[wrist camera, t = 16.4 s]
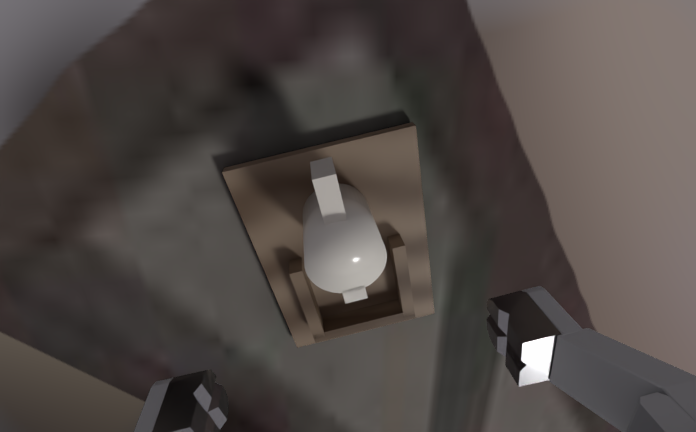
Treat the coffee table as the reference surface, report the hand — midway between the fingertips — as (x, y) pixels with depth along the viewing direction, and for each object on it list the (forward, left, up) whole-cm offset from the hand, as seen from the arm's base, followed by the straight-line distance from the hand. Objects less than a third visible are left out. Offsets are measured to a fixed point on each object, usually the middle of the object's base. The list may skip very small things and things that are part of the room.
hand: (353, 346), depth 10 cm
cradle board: (-13, 0, -21) cm, 25 cm away
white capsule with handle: (-6, 0, -20) cm, 21 cm away
